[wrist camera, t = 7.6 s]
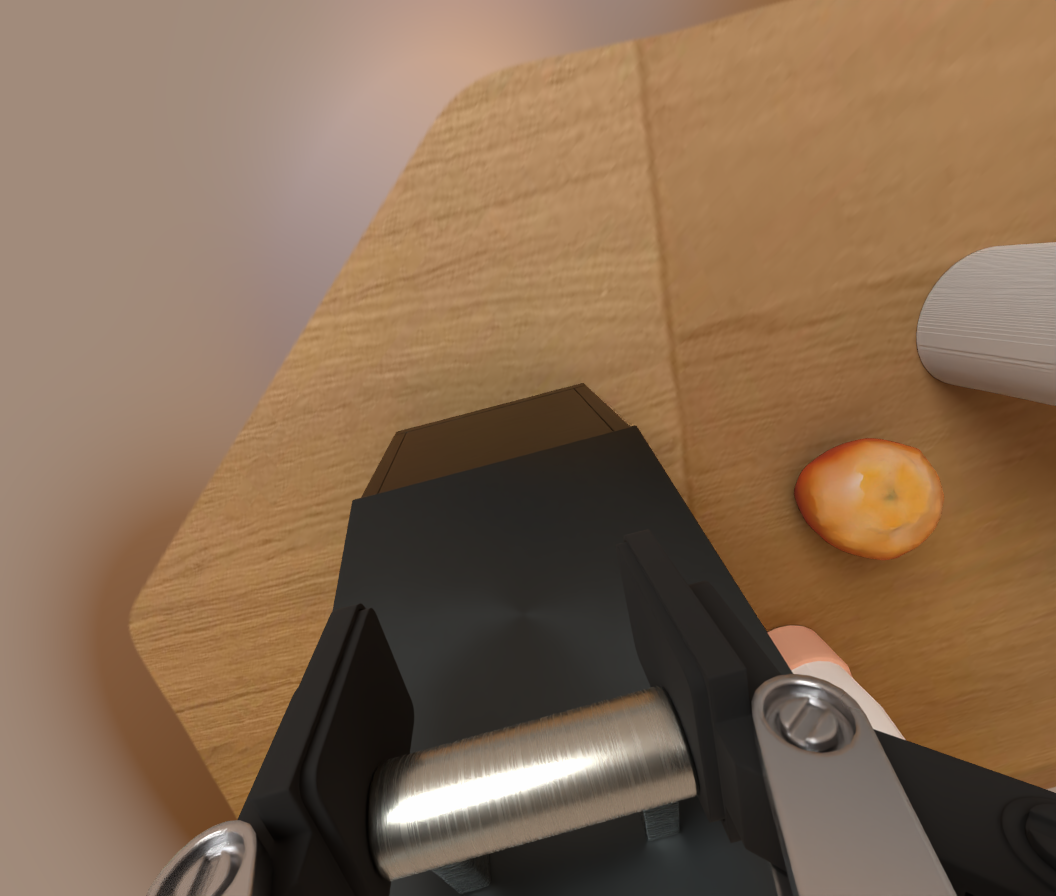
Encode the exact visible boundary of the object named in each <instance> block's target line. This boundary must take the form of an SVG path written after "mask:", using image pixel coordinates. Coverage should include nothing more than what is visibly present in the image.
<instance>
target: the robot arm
mask: <svg viewBox="0 0 1056 896" xmlns="http://www.w3.org/2000/svg"><path fill="white" fill-rule="evenodd" d="M623 542H624V543H620V544H617V545H616V552H617V557H618V563H619V568H620V573H621V578H622V583H623V588H624V593H625V598H626V603H627V608H628V613H629V619H630V624H631V629H632V634H633V639H634V644H635V648H636V651H637V655H638V658H639V660H640V663H641V665H642V668H643V670H644V672H645V675H646V677H647V679H648V682H649V684H650V686H651V688H652V687H655V686H662V687H663V688H664V690H665V691H666V692H667V694H668V695H669V697H670V699H671V701H672V703H673V705H674V707H675V710H676V712H677V714H678V717H679V719H680V722H681V724H682V727H683V730H684V732H685V735H686V738H687V741H688V744H689V747H690V750H691V753H692V757H693V760H694V764H695V768H696V772H697V776H698V782H699V793H698V794H697V796H698V798H699V801H700V803H701V805H702V808H703V810H704V812H705V814H706V817H707V819H708V820H709V822H710V823H711V822H715V821H719V820H720V821H721V823H722V825H723V827H724V829H725V832H726V834H727V836H728V838H729V840H730V843H733V842H737V841H741V840H742V842H743V844H744V846H745V848H746V849H747V850H749V851H750V852H752V853H754V854H756V855H758V856H759V857H761V858H763V859H765V860H766V861H767V863H768V867H769V872H770V876H771V881H772V885H773V889H774V894H775V896H1056V793H1054V792H1051V791H1048V790H1046V789H1043V788H1040V787H1037V786H1034V785H1032V784H1029V783H1026V782H1023V781H1020V780H1017V779H1014V778H1012V777H1009V776H1006V775H1003V774H1000V773H997V772H995V771H992V770H989V769H986V768H983V767H980V766H977V765H975V764H972V763H969V762H966V761H963V760H960V759H958V758H955V757H952V756H949V755H946V754H943V753H940V752H938V751H935V750H932V749H929V748H926V747H923V746H921V745H918V744H915V743H912V742H909V741H906V740H903V739H901V738H898V737H895V736H892V735H889V734H886V733H884V732H881V731H878V730H875V729H873V728H872V726H871V724H870V722H869V720H868V718H867V716H866V714H865V713H864V711H863V710H862V708H861V707H860V706H859V704H858V703H857V701H856V700H855V699H853V698H852V697H851V696H850V695H849V694H848V693H846V692H845V691H844V690H843V689H841V688H839V687H837V686H835V685H834V684H832V683H830V682H828V681H826V680H823V679H819V678H816V677H813V676H810V675H800V674H787V675H781V674H780V672H779V671H778V670H777V668H776V667H775V666H774V664H773V663H772V662H771V661H770V659H769V658H768V657H767V655H766V654H765V653H764V652H763V650H762V649H761V648H760V646H759V645H758V644H757V643H756V641H755V640H754V639H753V637H752V636H751V635H750V634H749V632H748V631H747V630H746V628H745V627H744V626H743V624H742V623H741V622H740V621H739V619H738V618H737V617H736V615H735V614H734V613H733V612H732V610H731V609H730V608H729V606H728V605H727V604H726V603H725V601H724V600H723V599H722V597H721V596H720V595H719V593H718V592H717V591H716V590H715V588H714V587H713V586H712V585H711V584H710V583H709V582H708V581H701V582H697V583H693V584H689V585H688V584H687V582H686V581H685V580H684V578H683V577H682V575H681V574H680V572H679V571H678V570H677V568H676V567H675V565H674V564H673V562H672V561H671V559H670V558H669V557H668V555H667V554H666V552H665V551H664V549H663V548H662V547H661V545H660V544H659V542H658V541H657V539H656V538H655V537H654V535H653V534H652V532H651V531H650V530H649V529H647V530H643V531H639V532H636V533H632V534H628V535H624V536H623ZM413 727H414V707H413V703H412V700H411V698H410V695H409V693H408V690H407V688H406V685H405V683H404V681H403V678H402V676H401V673H400V671H399V668H398V666H397V663H396V661H395V659H394V656H393V654H392V651H391V649H390V646H389V644H388V641H387V639H386V637H385V634H384V632H383V629H382V627H381V624H380V622H379V619H378V617H377V615H376V612H375V610H374V609H373V608H368V609H366V608H365V606H364V605H363V604H356V605H352V606H348V607H344V608H340V609H336V610H334V611H333V612H332V613H331V615H330V617H329V619H328V622H327V624H326V626H325V628H324V631H323V633H322V635H321V638H320V640H319V642H318V644H317V647H316V649H315V651H314V653H313V656H312V658H311V660H310V662H309V665H308V667H307V669H306V671H305V674H304V676H303V678H302V681H301V683H300V685H299V687H298V688H297V690H296V691H295V693H294V695H293V697H292V699H291V701H290V703H289V706H288V708H287V710H286V712H285V715H284V717H283V719H282V721H281V723H280V726H279V728H278V730H277V732H276V735H275V737H274V739H273V741H272V744H271V746H270V748H269V750H268V753H267V755H266V757H265V759H264V762H263V764H262V766H261V768H260V771H259V773H258V775H257V777H256V780H255V782H254V784H253V786H252V788H251V791H250V793H249V795H248V797H247V800H246V802H245V804H244V806H243V809H242V811H241V813H240V815H239V818H238V820H236V821H226V822H224V823H221V824H219V825H216V826H213V827H211V828H209V829H208V830H206V831H205V832H203V833H201V834H200V835H198V836H196V837H195V838H194V839H192V840H191V841H190V842H189V843H188V844H187V845H185V846H184V847H183V848H182V849H181V850H180V851H178V852H177V853H176V854H175V856H174V857H173V858H172V859H171V860H170V861H169V862H168V864H167V865H166V866H165V867H164V868H163V869H162V870H161V872H160V873H159V875H158V876H157V878H156V879H155V881H154V882H153V884H152V886H151V887H150V888H149V891H148V893H147V895H146V896H389V895H390V888H391V881H386V880H384V879H382V878H381V877H380V876H379V875H378V873H377V871H376V869H375V867H374V864H373V861H372V858H371V853H370V848H369V842H368V834H367V800H368V792H369V786H370V782H371V778H372V775H373V773H374V771H375V769H376V767H377V766H378V765H379V764H380V763H381V762H383V761H385V760H389V759H393V758H396V757H400V756H404V755H407V754H410V748H411V741H412V734H413Z"/></svg>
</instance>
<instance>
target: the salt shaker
mask: <svg viewBox="0 0 1056 896" xmlns="http://www.w3.org/2000/svg"><path fill="white" fill-rule="evenodd" d="M768 634H769V636H770V638H771V639H772V641H773V642H774V644H775V645H776V647H777V649H778V650H779V652H780V653H781V655H782V656H783V658H784V660H785V661H786V663H787V664H788V666H789V668H790V669H791V671H792V672H793V674H800V675H810V676H813V677H816V678H819V679H823V680H826V681H828V682H830V683H832V684H834V685H835V686H837V687H839V688H841V689H843V690H844V691H845V692H846V693H848V694H849V695H850V696H851V697H852V698H853V699H855V700H856V701H857V703H858V704H859V706H860V707H861V708H862V710H863V711H864V713H865V714H866V716H867V718H868V720H869V722H870V724H871V726H872V728H873V729H875V730H878V731H881V732H884V733H886V734H889V735H892V736H895V737H898V738H901V739H903V740H905V738H904V737H903V736H902V734H901V733H900V731H899V730H898V729H897V727H896V726H895V724H894V723H893V722H892V720H891V719H890V718H889V716H888V715H887V713H886V712H885V711H884V709H883V708H882V707H881V706H880V705H879V704H878V703H877V702H876V701H875V700H874V699H873V698H872V697H871V696H870V695H869V694H868V693H867V692H866V691H865V690H864V689H863V688H862V687H861V686H860V685H859V684H858V683H857V682H856V681H855V680H854V679H853V678H852V675H851V672H850V669H849V667H848V665H847V664H846V663H845V662H844V661H843V660H842V659H841V658H840V657H839V656H838V655H837V654H836V653H835V652H834V651H833V650H832V649H831V648H830V647H829V646H828V645H827V644H826V643H825V642H824V641H823V640H822V639H821V638H820V637H819V636H818V635H817V634H816V633H815V632H814V631H813V630H811V629H809V628H806V627H804V626H794V625H788V626H784V627H779V628H776V629H774V630H772V631H770V632H768Z"/></svg>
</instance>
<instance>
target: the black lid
mask: <svg viewBox="0 0 1056 896" xmlns="http://www.w3.org/2000/svg"><path fill="white" fill-rule="evenodd" d="M647 529H649V530H650V531H651V532H652V534H653V535H654V537H655V538H656V539H657V541H658V542H659V544H660V545H661V547H662V548H663V549H664V551H665V552H666V554H667V555H668V557H669V558H670V559H671V561H672V562H673V564H674V565H675V567H676V568H677V570H678V571H679V572H680V574H681V575H682V577H683V578H684V580H685V581H686V582H687V584H688V585H689V584H693V583H697V582H701V581H708V582H709V583H710V584H711V585H712V586H713V587H714V588H715V590H716V591H717V592H718V593H719V595H720V596H721V597H722V599H723V600H724V601H725V603H726V604H727V605H728V606H729V608H730V609H731V610H732V612H733V613H734V614H735V615H736V617H737V618H738V619H739V621H740V622H741V623H742V624H743V626H744V627H745V628H746V630H747V631H748V632H749V634H750V635H751V636H752V637H753V639H754V640H755V641H756V643H757V644H758V645H759V646H760V648H761V649H762V650H763V652H764V653H765V654H766V655H767V657H768V658H769V659H770V661H771V662H772V663H773V664H774V666H775V667H776V668H777V670H778V671H779V672H780V674H781V675H787V674H793V672H792V671H791V669H790V668H789V666H788V664H787V663H786V661H785V660H784V658H783V656H782V655H781V653H780V652H779V650H778V649H777V647H776V645H775V644H774V642H773V641H772V639H771V638H770V636H769V634H768V633H767V631H766V630H765V628H764V626H763V625H762V623H761V622H760V620H759V619H758V617H757V615H756V614H755V612H754V611H753V609H752V608H751V606H750V604H749V603H748V601H747V600H746V598H745V596H744V595H743V593H742V592H741V590H740V589H739V587H738V585H737V584H736V582H735V581H734V579H733V578H732V576H731V574H730V573H729V571H728V570H727V568H726V566H725V565H724V563H723V562H722V560H721V559H720V557H719V555H718V554H717V552H716V551H715V549H714V548H713V546H712V544H711V543H710V541H709V540H708V538H707V536H706V535H705V533H704V532H703V530H702V529H701V527H700V525H699V524H698V522H697V521H696V519H695V518H694V516H693V514H692V513H691V511H690V510H689V508H688V507H687V505H686V503H685V502H684V500H683V499H682V497H681V495H680V494H679V492H678V491H677V489H676V488H675V486H674V484H673V483H672V481H671V480H670V478H669V477H668V475H667V473H666V472H665V470H664V469H663V467H662V465H661V464H660V462H659V461H658V459H657V458H656V456H655V454H654V453H653V451H652V450H651V448H650V447H649V445H648V443H647V442H646V440H645V439H644V437H643V435H642V434H641V432H640V431H639V429H638V428H637V426H631V427H628V428H624V429H620V430H616V431H612V432H609V433H605V434H601V435H597V436H594V437H590V438H586V439H582V440H578V441H575V442H571V443H567V444H563V445H560V446H556V447H552V448H548V449H544V450H541V451H537V452H533V453H529V454H525V455H522V456H518V457H514V458H510V459H507V460H503V461H499V462H495V463H491V464H488V465H484V466H480V467H476V468H472V469H469V470H465V471H461V472H457V473H454V474H450V475H446V476H442V477H438V478H435V479H431V480H427V481H423V482H420V483H416V484H412V485H408V486H404V487H401V488H397V489H393V490H389V491H385V492H382V493H378V494H374V495H370V496H367V497H363V498H359V499H355V500H353V501H352V506H351V512H350V518H349V523H348V529H347V534H346V540H345V545H344V551H343V557H342V562H341V568H340V573H339V579H338V584H337V590H336V596H335V601H334V607H333V611H334V610H336V609H340V608H344V607H348V606H352V605H356V604H363V605H364V606H365V608H366V609H368V608H373V609H374V610H375V612H376V615H377V617H378V619H379V622H380V624H381V627H382V629H383V632H384V634H385V637H386V639H387V641H388V644H389V646H390V649H391V651H392V654H393V656H394V659H395V661H396V663H397V666H398V668H399V671H400V673H401V676H402V678H403V681H404V683H405V685H406V688H407V690H408V693H409V695H410V698H411V700H412V703H413V707H414V727H413V734H412V741H411V748H410V754H407V755H404V756H400V757H396V758H393V759H389V760H385V761H383V762H381V763H380V764H379V765H378V766H377V767H376V769H375V771H374V773H373V775H372V778H371V782H370V786H369V792H368V800H367V834H368V842H369V848H370V853H371V858H372V861H373V864H374V867H375V869H376V871H377V873H378V875H379V876H380V877H381V878H382V879H384V880H386V881H391V888H390V895H389V896H775V894H774V889H773V885H772V881H771V876H770V872H769V867H768V863H767V861H766V860H765V859H763V858H761V857H759V856H758V855H756V854H754V853H752V852H750V851H749V850H747V849H746V848H745V846H744V844H743V842H742V840H741V841H737V842H733V843H730V840H729V838H728V836H727V834H726V832H725V829H724V827H723V825H722V823H721V821H720V820H719V821H715V822H711V823H710V822H709V820H708V819H707V817H706V814H705V812H704V810H703V808H702V805H701V803H700V801H699V798H698V796H697V794H698V793H699V782H698V776H697V772H696V768H695V764H694V760H693V757H692V753H691V750H690V747H689V744H688V741H687V738H686V735H685V732H684V730H683V727H682V724H681V722H680V719H679V717H678V714H677V712H676V710H675V707H674V705H673V703H672V701H671V699H670V697H669V695H668V694H667V692H666V691H665V690H664V688H663V687H662V686H655V687H652V688H651V686H650V684H649V682H648V679H647V677H646V675H645V672H644V670H643V668H642V665H641V663H640V660H639V658H638V655H637V651H636V648H635V644H634V639H633V634H632V629H631V624H630V619H629V613H628V608H627V603H626V598H625V593H624V588H623V583H622V578H621V573H620V568H619V563H618V557H617V552H616V545H617V544H620V543H624V542H623V536H624V535H628V534H632V533H636V532H639V531H643V530H647Z"/></svg>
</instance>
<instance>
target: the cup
mask: <svg viewBox="0 0 1056 896" xmlns="http://www.w3.org/2000/svg"><path fill="white" fill-rule="evenodd" d="M917 349H918V352H919V356H920V358H921V361H922V363H923V365H924V366H925V368H926V369H927V370H928V372H930V374H932V375H933V376H934V377H935V378H936V379H939V380H940V381H943V382H945V383H948V384H952V385H957V386H961V387H966V388H971V389H978V390H983V391H988V392H992V393H997V394H1002V395H1007V396H1011V397H1016V398H1021V399H1025V400H1030V401H1035V402H1040V403H1044V404H1049V405H1054V406H1056V242H1051V243H1037V244H1023V245H1009V246H995V247H989V248H986V249H982V250H979V251H976V252H975V253H972V254H971V255H968V256H967V257H965V258H963V259H962V260H961V261H959V262H957V263H956V264H955V265H954V266H953V267H951V268H950V269H949V270H948V271H946V273H944V275H943V276H942V277H941V278H940V279H939V281H937V283H936V284H935V286H934V287H933V289H932V290H931V292H930V294H929V296H928V297H927V300H926V301H925V304H924V306H923V309H922V311H921V315H920V317H919V322H918V326H917Z"/></svg>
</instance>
